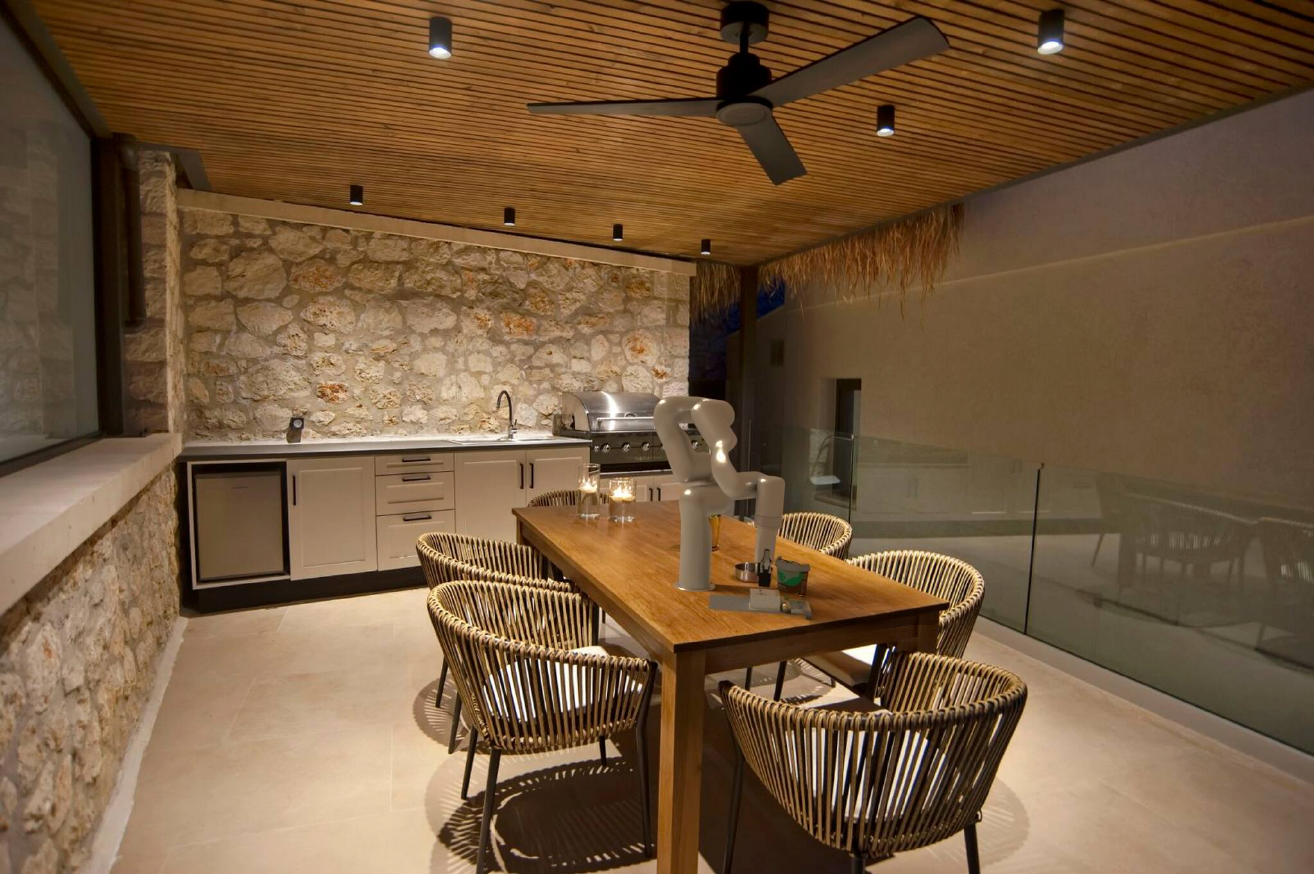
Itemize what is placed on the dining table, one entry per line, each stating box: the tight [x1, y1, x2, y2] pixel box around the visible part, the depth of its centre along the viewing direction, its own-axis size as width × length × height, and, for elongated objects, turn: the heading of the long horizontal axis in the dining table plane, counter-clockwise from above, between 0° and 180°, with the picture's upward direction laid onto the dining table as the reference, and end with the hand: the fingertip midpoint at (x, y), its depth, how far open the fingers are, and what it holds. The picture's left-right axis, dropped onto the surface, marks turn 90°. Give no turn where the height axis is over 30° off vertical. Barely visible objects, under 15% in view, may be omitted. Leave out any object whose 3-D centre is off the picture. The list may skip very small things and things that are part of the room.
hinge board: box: [707, 593, 813, 621], centre depth 198 cm, size 14×28×1 cm, turn 84°
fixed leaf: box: [780, 595, 812, 615], centre depth 195 cm, size 10×8×2 cm
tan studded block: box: [749, 588, 781, 611], centre depth 196 cm, size 6×8×4 cm
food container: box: [774, 555, 811, 597], centre depth 214 cm, size 12×6×10 cm, turn 37°
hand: (763, 581), depth 196 cm, fingers open, 9 cm apart
